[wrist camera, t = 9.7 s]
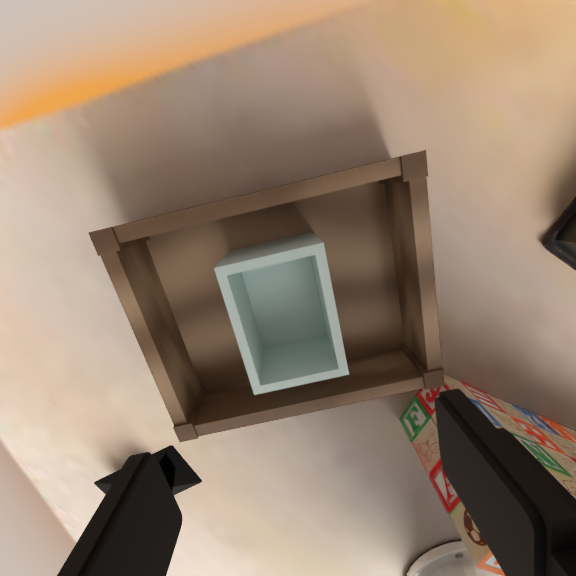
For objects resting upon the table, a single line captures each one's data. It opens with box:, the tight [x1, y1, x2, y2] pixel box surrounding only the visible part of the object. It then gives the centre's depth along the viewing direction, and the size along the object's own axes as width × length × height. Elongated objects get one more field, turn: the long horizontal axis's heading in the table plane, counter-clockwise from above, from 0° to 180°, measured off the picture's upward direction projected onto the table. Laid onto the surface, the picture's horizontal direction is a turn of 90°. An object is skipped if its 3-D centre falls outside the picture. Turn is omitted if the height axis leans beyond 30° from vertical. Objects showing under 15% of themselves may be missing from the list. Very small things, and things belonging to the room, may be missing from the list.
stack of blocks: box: [400, 374, 576, 576], centre depth 24 cm, size 21×6×12 cm, turn 65°
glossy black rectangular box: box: [94, 445, 202, 495], centre depth 29 cm, size 12×7×5 cm, turn 119°
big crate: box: [89, 150, 445, 442], centre depth 22 cm, size 16×20×5 cm
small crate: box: [214, 231, 349, 395], centre depth 21 cm, size 9×6×6 cm
